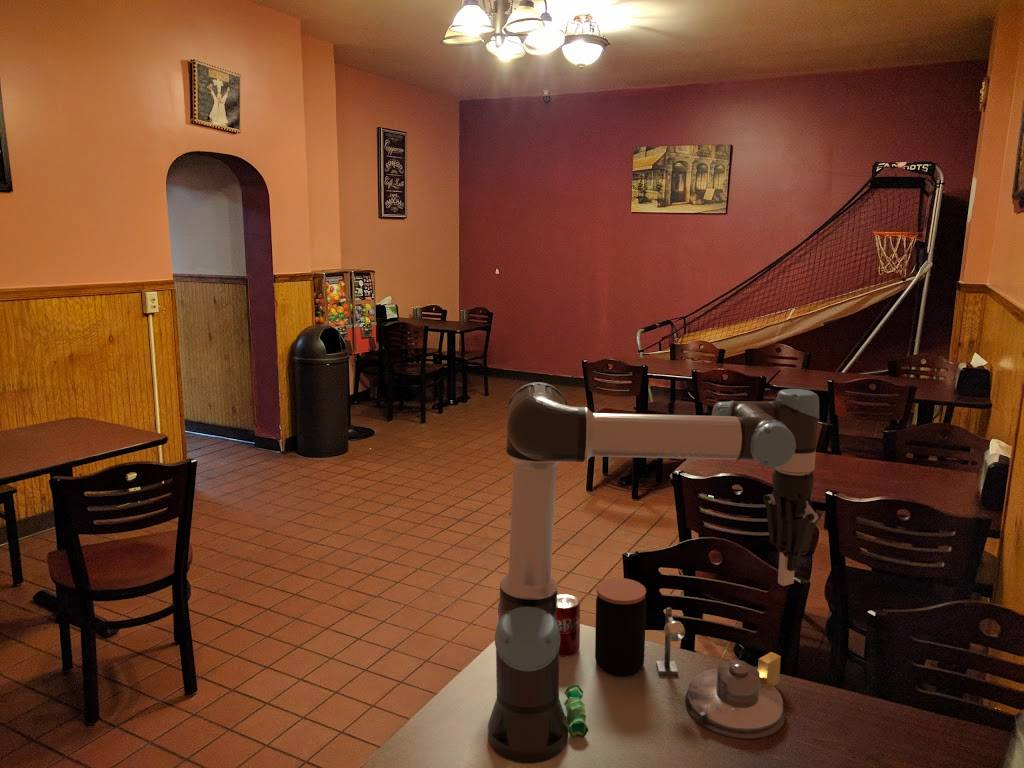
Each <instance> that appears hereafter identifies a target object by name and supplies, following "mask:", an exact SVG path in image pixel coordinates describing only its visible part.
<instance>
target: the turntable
mask: <svg viewBox="0 0 1024 768" xmlns="http://www.w3.org/2000/svg"><path fill="white" fill-rule="evenodd" d="M781 657H782V656H781V655H779V654H777V653H775V652H772V651H770V652H768V653H767V654H764V655H763V656H761V657H760V658H758V663H757V664H758V665H757V670H758V672H759V674H760V684H759V699H758V702H757V704H755V705H754V706H752V707H747V708H739V707H734V706H731V705H728V704H726V703H724V702H723V701H721V700H720V699H719V698H718V696H717V693H716V689H717V669H718V668H714V669H713V668H712V669H707V670H703V671H702V672H699V673H697V674H695V675H694V676H693V677H692V678H691V679H690V681H689V683H688V687H687V691H688V702H689V705H690V707H691V708H692V710H693V711H694V712H695V714H696V715H698V716H699V722H700V723H701V724H703V723H705V722H707V723H709V724H711V725H713V726H715V727H718V728H720V729H723V730H727V731H731V732H736V733H759V732H763V731H767V730H769V729H771V728H773V727H775V726H776V725H777V724H778V723H779V722H780V720H781V718H782V712H783V708H784V701H783V697H782V694H781V693H780V692H779V690H778V689H777V688H776V687H775V686H776V685H777V684H779V683H780V676H781V675H780V674H781V673H780V672H781V660H782V658H781Z"/></svg>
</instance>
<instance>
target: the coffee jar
mask: <svg viewBox="0 0 1024 768" xmlns="http://www.w3.org/2000/svg"><path fill="white" fill-rule="evenodd" d="M596 585H597V586H596V593H597V596H596V598H595V638H594V639H595V641H594V643H595V647H594V653H595V654H594V655H595V656H594V659H595V662H596V665H598V668H599V669H600V670H601V671H602V672H603V673H606V674H607V675H609V676H611V677H612V676H613V677H618V678H627V677H631V676H634V675H637V673H639V672H640V670H641V669H642V668H643V666H644V664H645V652H646V651H645V647H646V645H645V643H646V642H645V641H646V615H647V614H646V611H647V609H646V607H647V600H646V594H647V588H646V587H645V585H643V584H642V583H640V582H639V581H636V580H635V579H634V580H633V579H630V578H626V577H625V578H624V577H614V578H613V577H611V578H608V579H607V578H606V579H604V580H602V581H600V582H599V583H597V584H596Z"/></svg>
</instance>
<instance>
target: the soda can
mask: <svg viewBox="0 0 1024 768" xmlns="http://www.w3.org/2000/svg"><path fill="white" fill-rule="evenodd" d="M556 622H557V624H558V628H559V633H560V647H559V658H569V657H572V656H575V655H576V654H577V653H578V652H579V650H580V649H581V648H580V646H581V645H580V644H581V643H580V640H581V602H580V599H578V598H577V597H576V596H575V595H572V594H569V593H560V594H558V593H557V608H556Z"/></svg>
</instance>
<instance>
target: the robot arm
mask: <svg viewBox="0 0 1024 768" xmlns="http://www.w3.org/2000/svg"><path fill="white" fill-rule="evenodd" d="M506 413H507V420H506V445H505V446H506V448H505V449H506V450H505V452H506V456H508V457H509V459H511V461H512V464H513V467H512V484H511V486H512V487H511V488H512V489H511V491H512V492H511V506H510V507H511V508H510V525H509V526H510V527H509V548H508V549H509V550H508V552H509V553H508V570H507V571H508V572H507V574H506V575H504V576H503V577H502V578H500V579H501V580H500V583H499V598H498V599H499V600H498V606H497V607H498V608H497V614H498V615H497V616H498V621H497V625H496V630H495V634H494V645H495V659H496V660H495V661H496V662H495V664H496V665H495V669H496V671H495V673H496V699H495V702H494V705H493V708H492V711H491V713H490V716H489V719H488V723H487V724H488V725H487V740H488V743H489V745H490V747H491V748H492V750H493V751H494V752H495V753H496V754H497V755H498V756H501V757H502V758H504V759H506V760H509V761H512V762H515V763H522V764H535V763H542V762H545V761H548V760H551V759H553V758H555V757H556V756H557V755H559V754H561V753H562V751H564V749H565V747H567V743H568V741H569V732H568V730H569V724H568V720H567V716H566V714H565V711H564V709H563V708H564V707H563V705H562V704H561V700H560V656H559V647H560V633H559V628H558V624H557V622H556V608H557V595H558V589H559V585H558V583H557V581H556V580H555V579H554V578H553V577H552V566H553V565H552V563H553V550H554V549H553V547H554V545H553V544H554V533H555V532H554V531H555V530H554V529H555V528H554V527H555V512H556V498H557V497H556V496H557V494H556V493H557V481H558V465H559V464H560V463H562V462H564V463H565V462H567V463H568V462H569V463H571V462H572V463H575V462H576V463H586V462H587V461H588V460H589V459H590V458H591V457H605V458H606V457H607V458H608V457H609V458H611V457H612V458H613V457H615V458H645V459H646V458H649V459H650V458H651V459H652V458H654V459H686V460H687V459H688V460H689V459H694V460H697V459H698V460H700V459H701V460H728V461H729V460H734V461H735V460H736V461H755V462H756V463H757V464H759V465H763V466H764V467H768V468H772V474H771V475H772V476H771V477H772V478H771V486H772V488H773V490H772V493H770V494H763V496H762V500H763V503H764V505H765V509H766V517H767V518H766V519H767V526H768V527H767V528H768V535H769V538H768V539H769V543H770V545H771V546H772V545H773V546H775V549H776V550H777V557H776V559H777V560H776V564H777V566H778V573H777V584H779V585H781V586H782V587H785V586H788V585H792V584H794V583H795V581H794V580H795V572H796V571H797V569H798V558H799V557H800V556H804V555H807V554H808V551H809V548H810V545H811V543H812V538H813V535H814V532H815V528H816V525H817V523H818V522H819V521H820V519H821V518H822V514H821V513H820V512H819V511H817V512H815V510H814V509H813V508H812V501H811V493H812V491H813V490H814V486H815V485H814V483H815V473H814V470H815V467H816V454H817V439H818V431H819V429H818V427H819V420H820V397H819V395H818V394H817V392H816V393H815V392H814V391H811V390H808V389H801V388H787V389H781V390H779V391H778V393H777V397H776V400H771V401H758V400H757V401H755V400H754V401H752V400H751V401H750V400H749V401H741V400H740V401H737V400H736V401H735V400H730V401H719V402H718V401H717V403H715V404H714V405H713V408H712V411H711V415H693V414H691V415H688V414H659V413H658V414H657V413H655V414H653V413H651V414H650V413H649V414H648V413H647V414H646V413H612V412H611V413H609V412H593V411H591V410H590V408H588V407H587V406H574V405H568V401H567V399H566V396H564V394H563V393H562V392H561V391H560V390H559V389H557V388H556V387H555V386H553V384H552V385H551V384H549V383H547V382H540V381H537V382H536V381H535V382H529V383H527V384H526V383H525V384H524V385H521V387H519V388H518V389H516V391H515V392H514V393H513V394H512V395H511V397H510V399H509V400H508V403H507V412H506Z"/></svg>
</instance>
